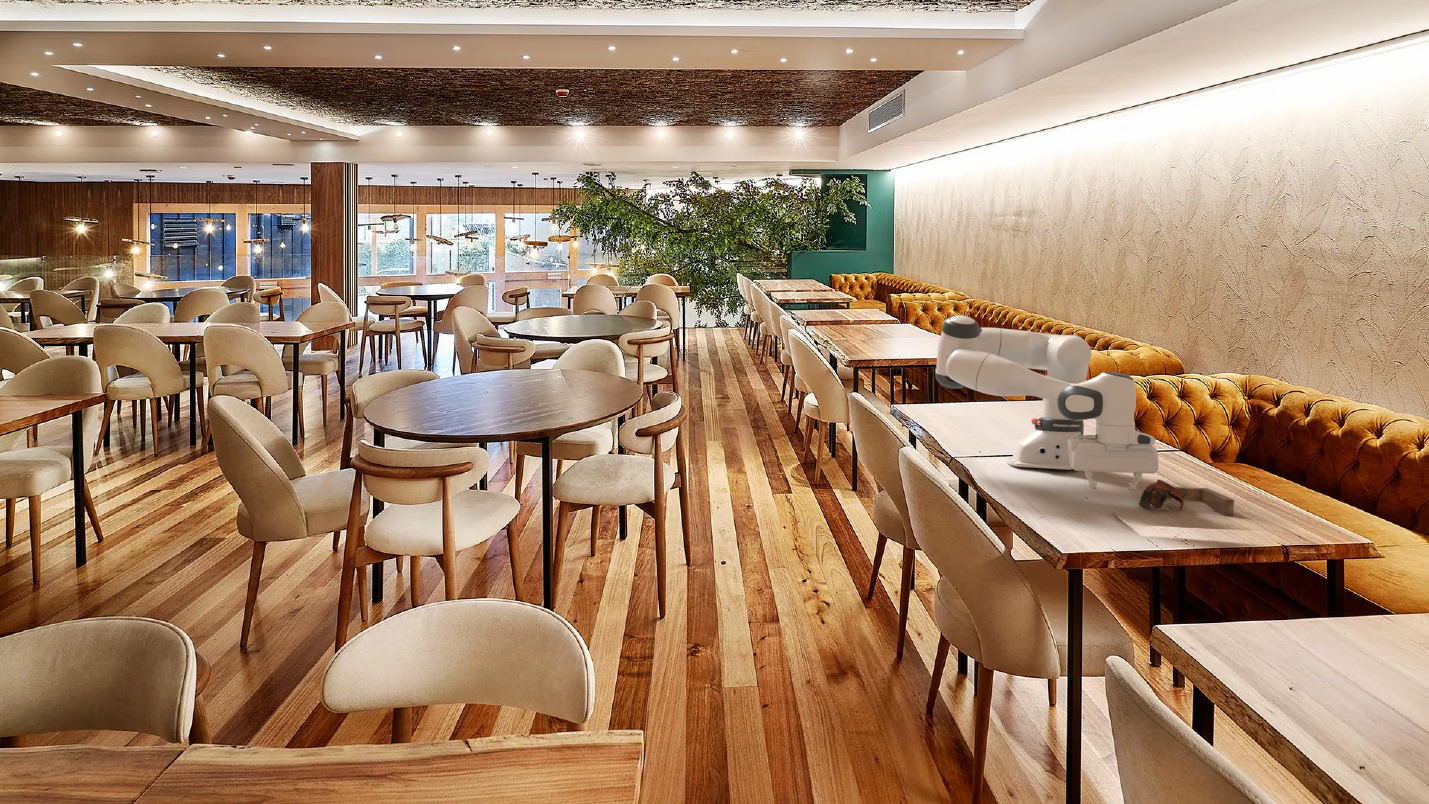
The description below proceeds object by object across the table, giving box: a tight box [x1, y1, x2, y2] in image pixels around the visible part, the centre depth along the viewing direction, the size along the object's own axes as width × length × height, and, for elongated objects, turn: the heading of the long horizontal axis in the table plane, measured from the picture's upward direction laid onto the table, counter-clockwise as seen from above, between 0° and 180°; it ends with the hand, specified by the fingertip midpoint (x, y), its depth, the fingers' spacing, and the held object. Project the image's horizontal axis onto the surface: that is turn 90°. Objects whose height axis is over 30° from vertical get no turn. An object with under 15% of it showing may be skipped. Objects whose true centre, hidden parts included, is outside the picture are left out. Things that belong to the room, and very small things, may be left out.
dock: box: [1153, 486, 1235, 517], centre depth 207 cm, size 13×16×4 cm
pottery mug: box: [1138, 479, 1185, 511], centre depth 205 cm, size 12×9×8 cm
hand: (1112, 489), depth 207 cm, fingers open, 8 cm apart
